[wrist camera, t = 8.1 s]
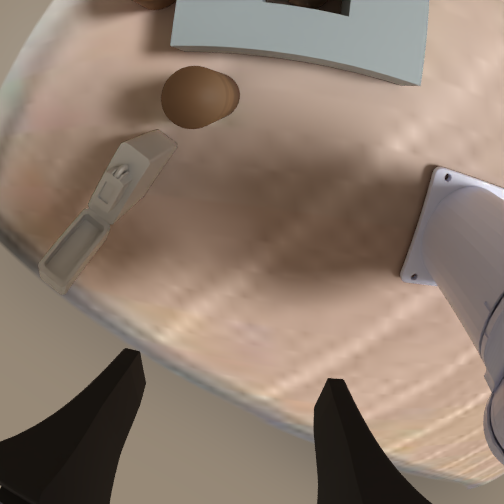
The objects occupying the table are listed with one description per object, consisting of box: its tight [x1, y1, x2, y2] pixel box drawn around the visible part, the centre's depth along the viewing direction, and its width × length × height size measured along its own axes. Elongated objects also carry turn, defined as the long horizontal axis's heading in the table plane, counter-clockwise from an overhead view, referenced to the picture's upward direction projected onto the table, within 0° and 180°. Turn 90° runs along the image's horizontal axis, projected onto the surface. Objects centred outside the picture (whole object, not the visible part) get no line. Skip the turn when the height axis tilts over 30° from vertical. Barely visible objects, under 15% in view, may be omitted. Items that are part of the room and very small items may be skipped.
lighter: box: [38, 130, 177, 295], centre depth 15 cm, size 7×2×8 cm, turn 140°
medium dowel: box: [161, 66, 240, 129], centre depth 13 cm, size 3×3×5 cm
